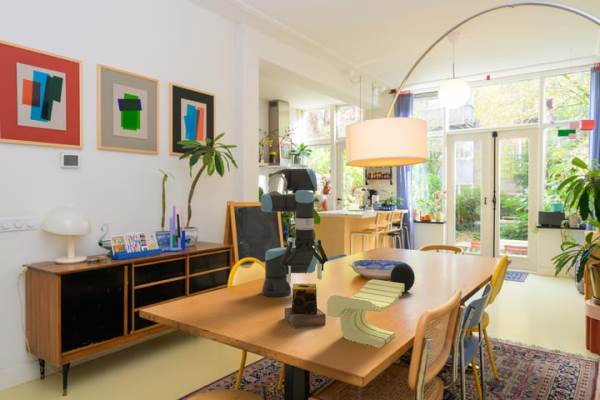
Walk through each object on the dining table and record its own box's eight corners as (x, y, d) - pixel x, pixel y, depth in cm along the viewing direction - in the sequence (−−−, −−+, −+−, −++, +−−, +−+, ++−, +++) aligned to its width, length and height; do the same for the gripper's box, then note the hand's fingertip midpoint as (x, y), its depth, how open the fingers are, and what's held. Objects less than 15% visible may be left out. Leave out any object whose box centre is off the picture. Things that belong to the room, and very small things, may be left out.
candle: (317, 314, 157) (317, 289, 156) (291, 314, 157) (291, 289, 157) (316, 307, 167) (317, 283, 167) (292, 306, 167) (292, 283, 167)
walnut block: (284, 320, 165) (284, 308, 165) (313, 316, 170) (313, 305, 169) (294, 330, 153) (294, 317, 153) (325, 326, 157) (325, 314, 157)
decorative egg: (390, 288, 218) (390, 261, 217) (413, 289, 215) (413, 261, 215) (390, 294, 205) (390, 265, 205) (415, 295, 203) (415, 266, 203)
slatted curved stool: (366, 322, 161) (366, 278, 161) (404, 330, 152) (404, 283, 151) (326, 345, 137) (327, 293, 136) (369, 356, 127) (369, 301, 127)
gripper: (278, 230, 153) (278, 285, 154) (336, 228, 162) (335, 279, 163) (272, 228, 159) (272, 281, 161) (328, 226, 169) (327, 275, 170)
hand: (304, 280), depth 162 cm, fingers open, 13 cm apart
